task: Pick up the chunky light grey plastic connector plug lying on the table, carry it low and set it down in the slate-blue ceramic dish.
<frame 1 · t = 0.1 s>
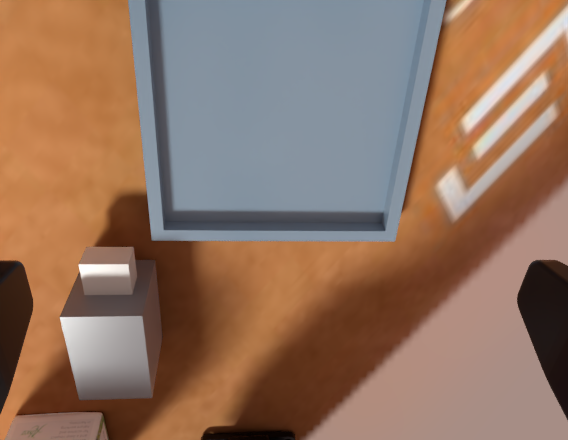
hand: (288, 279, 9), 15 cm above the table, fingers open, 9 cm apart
syrup box: (69, 435, 33), on the table
connector: (126, 299, 27), on the table
dish: (281, 113, 22), on the table
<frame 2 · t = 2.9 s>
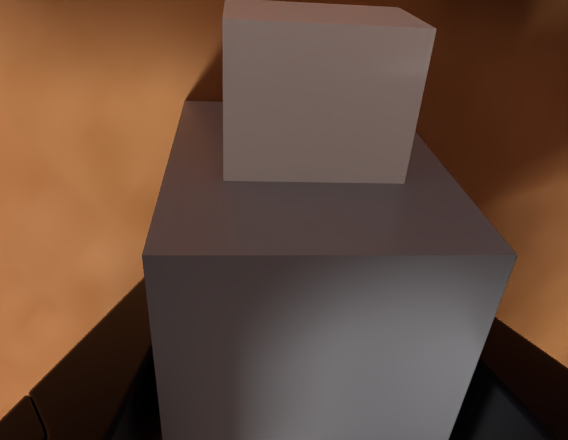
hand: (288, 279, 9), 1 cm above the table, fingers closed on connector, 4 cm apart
connector: (282, 240, 10), on the table, touching gripper
when the fingers open (3 cm above the table, at t = 7.4 s): connector drops 1 cm, resting on dish.
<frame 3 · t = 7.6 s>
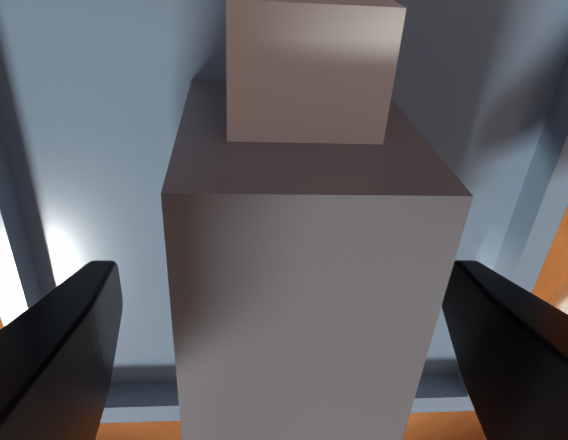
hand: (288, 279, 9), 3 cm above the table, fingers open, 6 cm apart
connector: (280, 210, 11), point 1 cm above the table, touching dish
dish: (277, 196, 11), on the table
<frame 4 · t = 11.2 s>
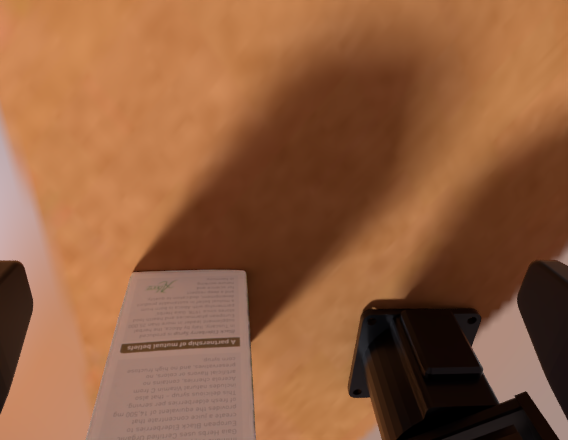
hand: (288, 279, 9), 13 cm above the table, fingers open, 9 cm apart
syrup box: (194, 309, 26), on the table
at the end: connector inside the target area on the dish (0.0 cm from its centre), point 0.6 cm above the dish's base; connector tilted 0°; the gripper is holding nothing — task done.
